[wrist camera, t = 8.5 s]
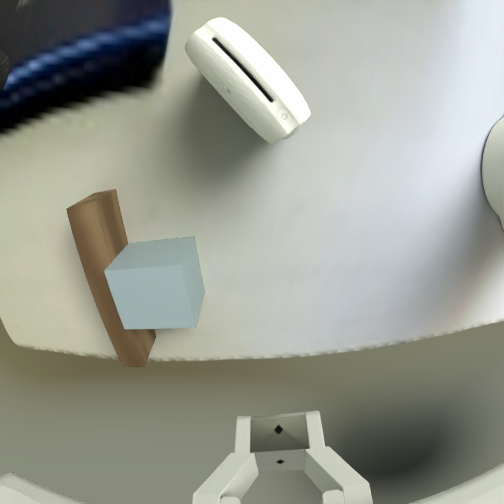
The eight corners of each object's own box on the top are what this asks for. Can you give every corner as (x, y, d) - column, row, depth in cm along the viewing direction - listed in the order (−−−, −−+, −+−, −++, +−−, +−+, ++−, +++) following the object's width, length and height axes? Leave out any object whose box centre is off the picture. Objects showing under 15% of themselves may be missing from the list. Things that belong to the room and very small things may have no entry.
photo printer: (299, 117, 28) (329, 115, 17) (265, 143, 29) (273, 157, 18) (232, 42, 25) (219, -4, 14) (199, 68, 26) (164, 38, 15)
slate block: (194, 235, 33) (180, 264, 27) (205, 291, 36) (195, 327, 30) (128, 243, 34) (104, 271, 27) (143, 295, 37) (124, 329, 30)
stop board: (115, 189, 31) (90, 204, 26) (156, 336, 39) (144, 367, 34) (93, 193, 31) (66, 209, 26) (136, 336, 39) (122, 366, 34)
